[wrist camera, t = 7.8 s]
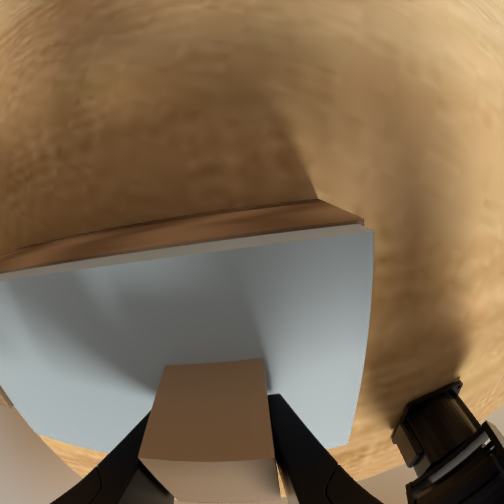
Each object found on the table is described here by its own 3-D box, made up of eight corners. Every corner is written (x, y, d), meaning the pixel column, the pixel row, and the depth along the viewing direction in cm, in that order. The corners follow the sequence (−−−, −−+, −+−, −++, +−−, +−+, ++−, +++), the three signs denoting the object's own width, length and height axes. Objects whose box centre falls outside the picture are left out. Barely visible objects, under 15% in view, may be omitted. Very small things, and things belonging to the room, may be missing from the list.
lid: (358, 223, 8) (462, 284, 3) (342, 429, 11) (367, 503, 6) (-35, 280, 8) (-90, 318, 3) (41, 422, 11) (15, 470, 6)
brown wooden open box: (318, 198, 12) (487, 286, 3) (322, 366, 15) (374, 510, 6) (-24, 260, 12) (-110, 316, 3) (22, 370, 15) (-32, 445, 6)
